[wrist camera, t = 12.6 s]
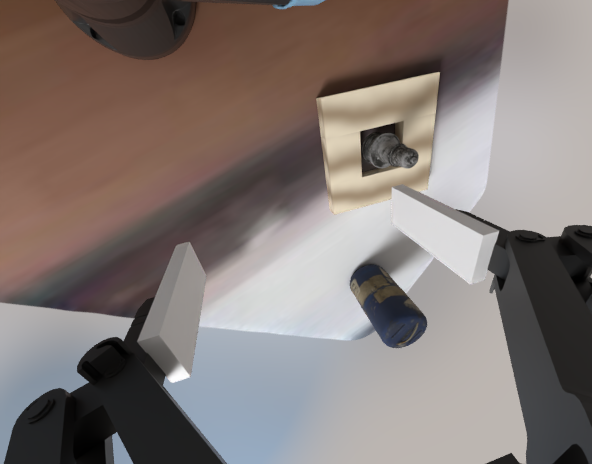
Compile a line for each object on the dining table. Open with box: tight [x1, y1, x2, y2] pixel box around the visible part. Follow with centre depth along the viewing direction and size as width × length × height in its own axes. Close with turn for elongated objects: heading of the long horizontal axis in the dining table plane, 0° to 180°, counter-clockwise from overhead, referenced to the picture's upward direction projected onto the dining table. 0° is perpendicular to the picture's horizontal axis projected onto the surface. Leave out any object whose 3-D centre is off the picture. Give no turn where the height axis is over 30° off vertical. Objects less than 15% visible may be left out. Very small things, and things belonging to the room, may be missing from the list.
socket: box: [316, 72, 440, 215], centre depth 43 cm, size 20×20×2 cm
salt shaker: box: [361, 133, 419, 168], centre depth 39 cm, size 6×6×12 cm
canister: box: [350, 265, 427, 348], centre depth 52 cm, size 10×10×18 cm
